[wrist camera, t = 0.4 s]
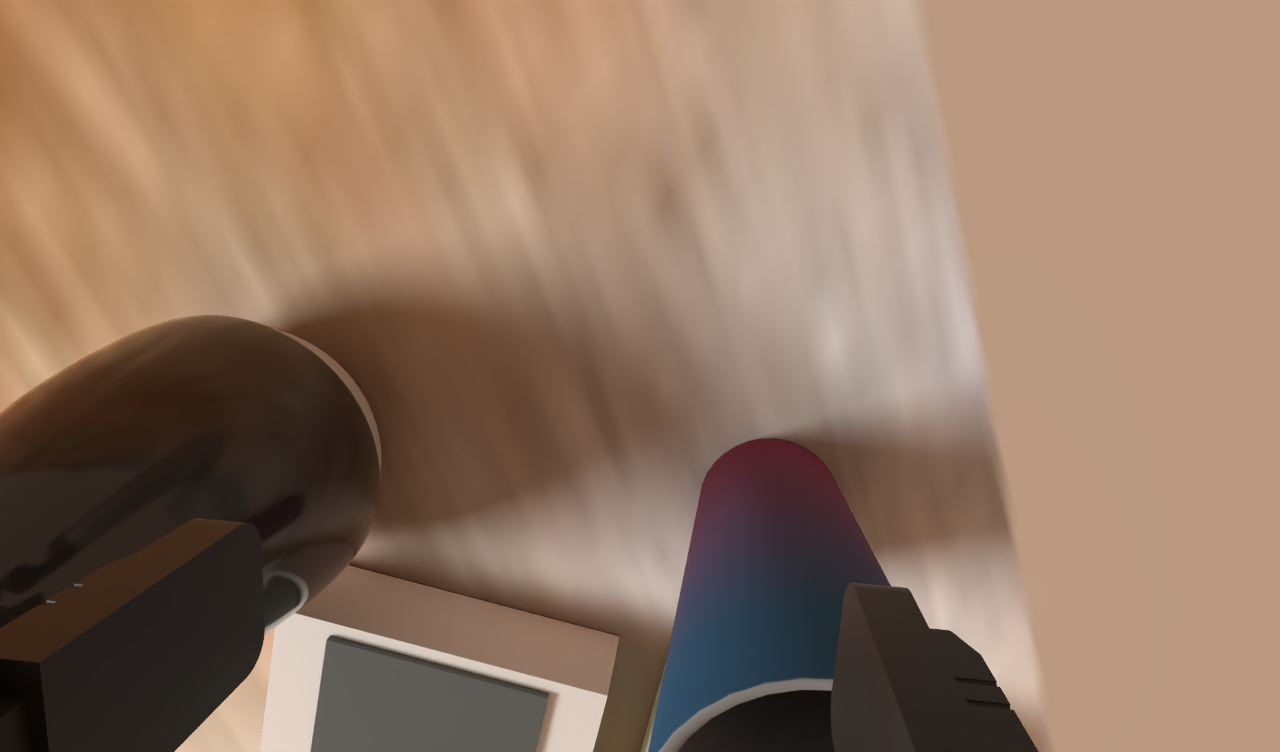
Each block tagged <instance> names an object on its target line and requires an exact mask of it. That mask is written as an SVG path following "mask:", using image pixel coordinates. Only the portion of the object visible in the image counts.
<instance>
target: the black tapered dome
mask: <svg viewBox="0 0 1280 752" xmlns="http://www.w3.org/2000/svg"><path fill="white" fill-rule="evenodd" d="M381 463H382V457H381V444H380V438H379V433H378V429H377V425H376V422H375V419H374V416H373V413H372V411H371V408H370V406H369V404H368V402H367V400H366V398H365V397H364V395H363V393H362V392H361V390H360V388H359V387H358V386H357V384H356V383H355V381H354V380H353V379H352V378H351V377H350V375H349V374H348V373H347V372H346V371H345V370H344V369H343V368H342V367H341V366H340V365H339V364H338V363H337V362H336V361H335V360H334V359H332V358H331V357H330V356H329V355H327V354H326V353H325V352H323V351H322V350H320V349H319V348H317V347H316V346H314V345H312V344H311V343H309V342H307V341H305V340H303V339H301V338H299V337H297V336H294V335H292V334H290V333H287V332H284V331H281V330H278V329H275V328H271V327H268V326H265V325H263V324H260V323H257V322H253V321H250V320H246V319H241V318H236V317H230V316H219V315H199V316H190V317H183V318H178V319H174V320H170V321H166V322H163V323H159V324H156V325H153V326H150V327H147V328H145V329H142V330H139V331H137V332H134V333H132V334H130V335H127V336H125V337H123V338H121V339H119V340H117V341H115V342H113V343H111V344H109V345H107V346H105V347H103V348H101V349H99V350H97V351H95V352H93V353H91V354H90V355H88V356H86V357H84V358H82V359H80V360H78V361H77V362H75V363H73V364H71V365H70V366H68V367H66V368H64V369H63V370H61V371H59V372H58V373H56V374H54V375H53V376H51V377H50V378H48V379H46V380H45V381H43V382H42V383H40V384H39V385H37V386H36V387H34V388H33V389H31V390H30V391H28V392H27V393H26V394H24V395H23V396H21V397H20V398H19V399H17V400H16V401H15V402H13V403H12V404H11V405H9V406H8V407H7V408H6V409H4V410H3V411H2V412H0V628H1V627H3V626H5V625H6V624H8V623H10V622H11V621H13V620H15V619H16V618H18V617H20V616H21V615H23V614H25V613H26V612H28V611H30V610H31V609H33V608H35V607H36V606H38V605H45V604H46V602H47V600H48V599H50V598H51V597H53V596H55V595H56V594H58V593H60V592H61V591H63V590H65V589H66V588H73V587H74V584H75V583H76V582H78V581H80V580H81V579H83V578H85V577H86V576H88V575H90V574H91V573H93V572H95V571H96V570H98V569H100V568H101V567H103V566H105V565H106V564H109V563H112V562H115V561H117V560H120V559H123V558H126V557H128V556H131V555H134V554H136V553H137V552H139V551H141V550H142V549H144V548H146V547H147V546H149V545H150V544H152V543H154V542H155V541H157V540H159V539H160V538H162V537H164V536H165V535H167V534H168V533H170V532H172V531H173V530H175V529H177V528H178V527H180V526H182V525H183V524H185V523H186V522H188V521H190V520H192V519H195V518H202V519H212V520H223V521H233V522H243V523H251V524H253V525H254V526H255V527H256V528H257V529H258V531H259V534H260V538H261V545H262V569H263V594H264V620H265V633H264V635H265V634H267V633H268V632H269V631H271V630H272V629H274V628H275V627H277V626H278V625H279V624H281V623H282V622H284V621H285V620H286V619H288V618H289V617H290V616H292V615H293V614H294V613H295V612H297V611H298V610H299V609H301V608H302V607H303V606H304V605H306V604H307V603H308V602H310V601H311V600H312V599H313V598H315V597H316V596H317V595H318V594H319V593H321V592H322V591H323V590H324V589H325V588H326V587H327V586H329V585H330V584H331V583H332V582H333V581H334V580H335V579H336V578H337V577H338V576H339V575H340V574H341V573H342V571H343V570H344V569H345V568H346V567H347V566H348V565H349V564H350V562H351V561H352V560H353V559H354V557H355V556H356V555H357V553H358V552H359V551H360V549H361V548H362V546H363V544H364V543H365V541H366V539H367V537H368V535H369V533H370V531H371V528H372V526H373V523H374V520H375V517H376V513H377V509H378V504H379V497H380V477H381Z"/></svg>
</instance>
